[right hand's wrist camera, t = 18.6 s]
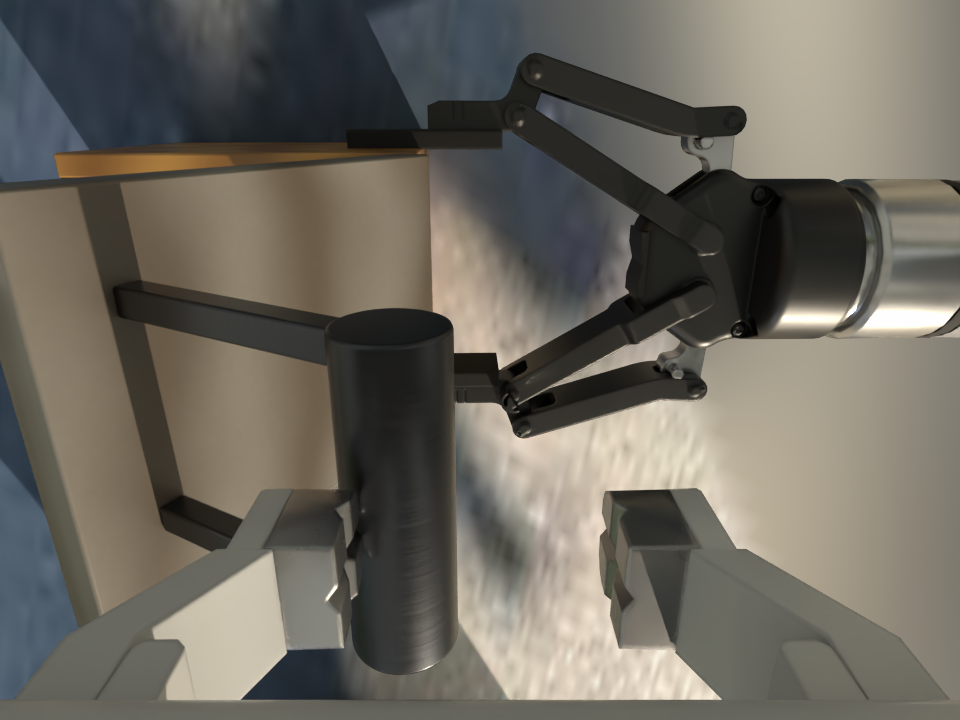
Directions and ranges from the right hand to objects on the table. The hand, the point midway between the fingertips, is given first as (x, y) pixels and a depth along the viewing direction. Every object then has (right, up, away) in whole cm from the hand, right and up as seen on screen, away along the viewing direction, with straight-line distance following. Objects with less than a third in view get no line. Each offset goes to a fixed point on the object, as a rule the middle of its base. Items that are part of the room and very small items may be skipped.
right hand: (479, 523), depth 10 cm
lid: (-6, +3, +8) cm, 11 cm away
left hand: (-6, +7, +19) cm, 21 cm away
